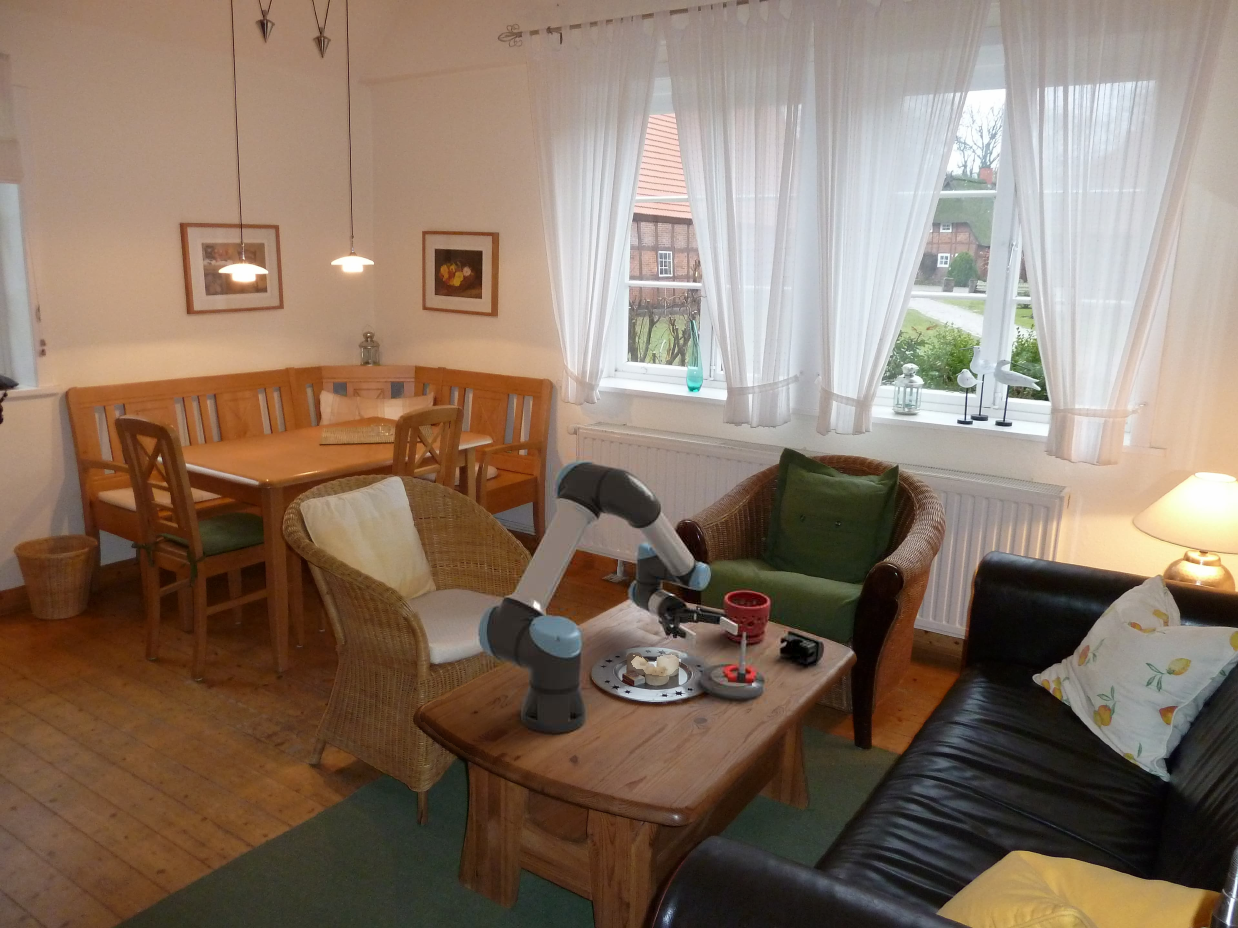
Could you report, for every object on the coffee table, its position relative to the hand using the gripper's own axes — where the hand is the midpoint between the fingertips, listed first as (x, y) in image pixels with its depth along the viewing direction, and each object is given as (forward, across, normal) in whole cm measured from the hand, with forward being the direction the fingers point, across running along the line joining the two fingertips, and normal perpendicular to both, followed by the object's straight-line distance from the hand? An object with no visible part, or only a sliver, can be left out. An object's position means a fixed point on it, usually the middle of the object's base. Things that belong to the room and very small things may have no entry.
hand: (716, 634), depth 249 cm
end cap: (+3, -27, -12) cm, 30 cm away
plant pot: (-16, -24, -11) cm, 30 cm away
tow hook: (+8, -2, -8) cm, 12 cm away
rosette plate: (+8, 0, -11) cm, 14 cm away
